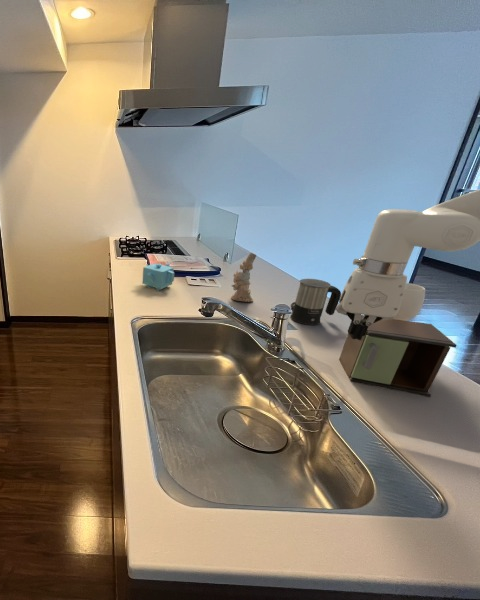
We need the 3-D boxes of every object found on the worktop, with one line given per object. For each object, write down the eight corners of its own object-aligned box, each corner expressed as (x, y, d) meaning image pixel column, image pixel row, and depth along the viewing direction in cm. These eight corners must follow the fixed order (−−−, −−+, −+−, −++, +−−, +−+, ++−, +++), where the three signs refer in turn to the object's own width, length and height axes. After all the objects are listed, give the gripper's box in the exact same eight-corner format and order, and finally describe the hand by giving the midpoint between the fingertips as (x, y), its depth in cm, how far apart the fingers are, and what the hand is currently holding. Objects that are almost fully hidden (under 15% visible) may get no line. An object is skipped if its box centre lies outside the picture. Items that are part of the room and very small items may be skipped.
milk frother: (304, 326, 113) (315, 288, 108) (271, 309, 128) (279, 273, 122) (337, 322, 116) (349, 284, 110) (301, 305, 130) (310, 270, 124)
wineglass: (405, 359, 94) (435, 293, 85) (367, 351, 98) (392, 288, 90) (398, 346, 100) (425, 284, 92) (363, 339, 105) (386, 279, 97)
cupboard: (409, 371, 88) (431, 323, 83) (430, 397, 79) (457, 345, 73) (338, 359, 95) (354, 314, 89) (350, 381, 85) (369, 332, 79)
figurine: (248, 296, 140) (257, 251, 132) (254, 303, 133) (264, 257, 125) (227, 295, 142) (234, 251, 134) (232, 302, 134) (240, 256, 126)
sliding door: (388, 383, 82) (407, 340, 77) (395, 391, 79) (414, 348, 74) (350, 375, 85) (366, 334, 80) (355, 383, 82) (371, 341, 77)
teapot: (133, 287, 153) (134, 264, 149) (155, 278, 164) (157, 257, 160) (161, 295, 143) (163, 271, 138) (182, 285, 154) (185, 263, 149)
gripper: (345, 267, 71) (322, 338, 79) (434, 275, 66) (400, 351, 73) (337, 258, 78) (315, 325, 85) (417, 265, 72) (386, 336, 79)
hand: (354, 336), depth 79 cm, fingers closed
